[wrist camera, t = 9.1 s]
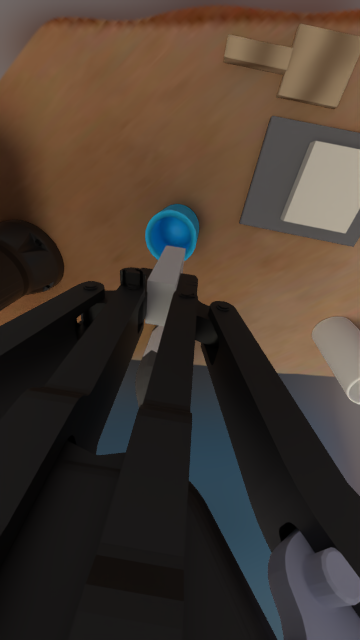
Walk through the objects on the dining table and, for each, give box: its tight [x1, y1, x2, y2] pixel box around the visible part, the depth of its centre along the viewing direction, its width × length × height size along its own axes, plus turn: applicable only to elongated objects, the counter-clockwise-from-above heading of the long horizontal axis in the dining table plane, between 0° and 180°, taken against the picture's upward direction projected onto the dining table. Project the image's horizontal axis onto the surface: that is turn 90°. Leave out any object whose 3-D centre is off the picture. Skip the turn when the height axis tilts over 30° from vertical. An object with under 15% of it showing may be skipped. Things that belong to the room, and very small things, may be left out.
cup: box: [312, 316, 360, 404], centre depth 42 cm, size 8×8×16 cm
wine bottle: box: [135, 325, 164, 407], centre depth 42 cm, size 8×8×30 cm
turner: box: [224, 24, 360, 109], centre depth 27 cm, size 16×6×2 cm, turn 80°
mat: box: [239, 116, 360, 247], centre depth 34 cm, size 20×14×1 cm
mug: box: [145, 204, 199, 261], centre depth 38 cm, size 12×8×8 cm
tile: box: [280, 141, 360, 233], centre depth 33 cm, size 2×10×10 cm
